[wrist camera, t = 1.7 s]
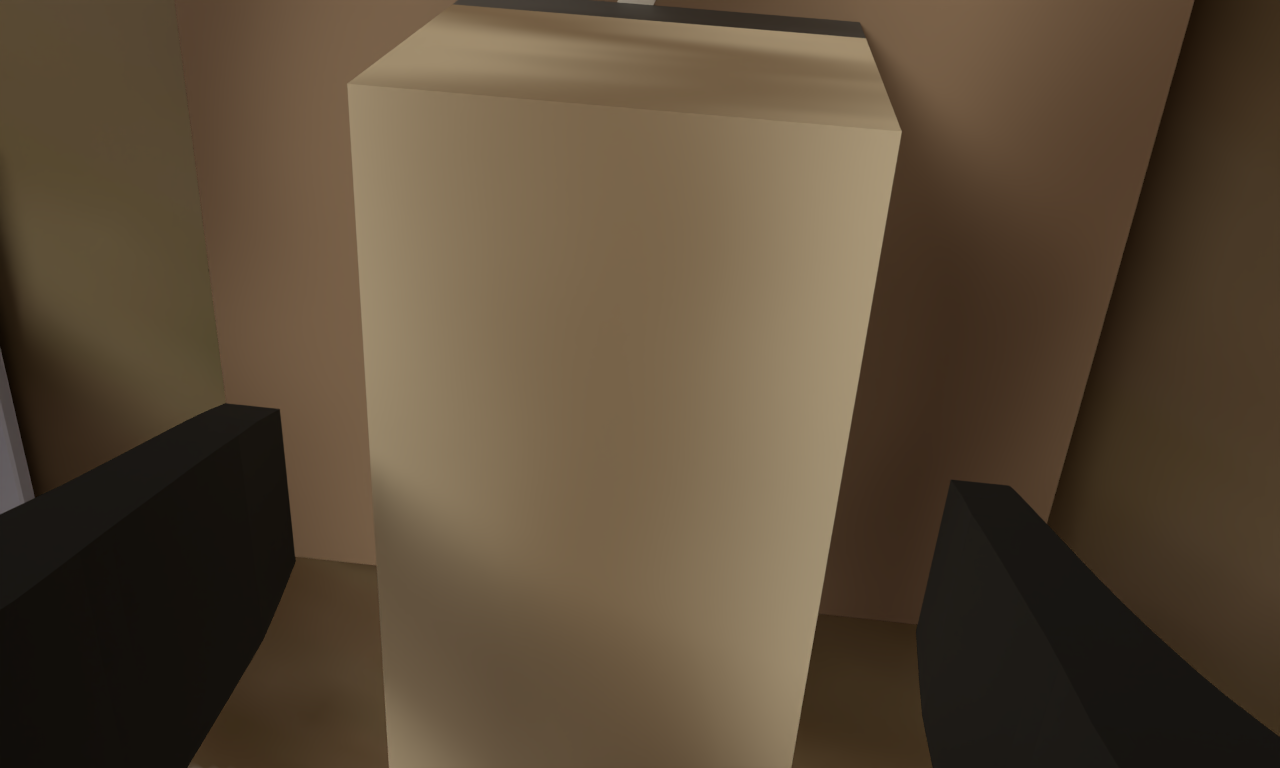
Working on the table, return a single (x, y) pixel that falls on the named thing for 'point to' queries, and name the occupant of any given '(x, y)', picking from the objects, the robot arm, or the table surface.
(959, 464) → the walnut board
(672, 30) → the block
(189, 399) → the table surface
